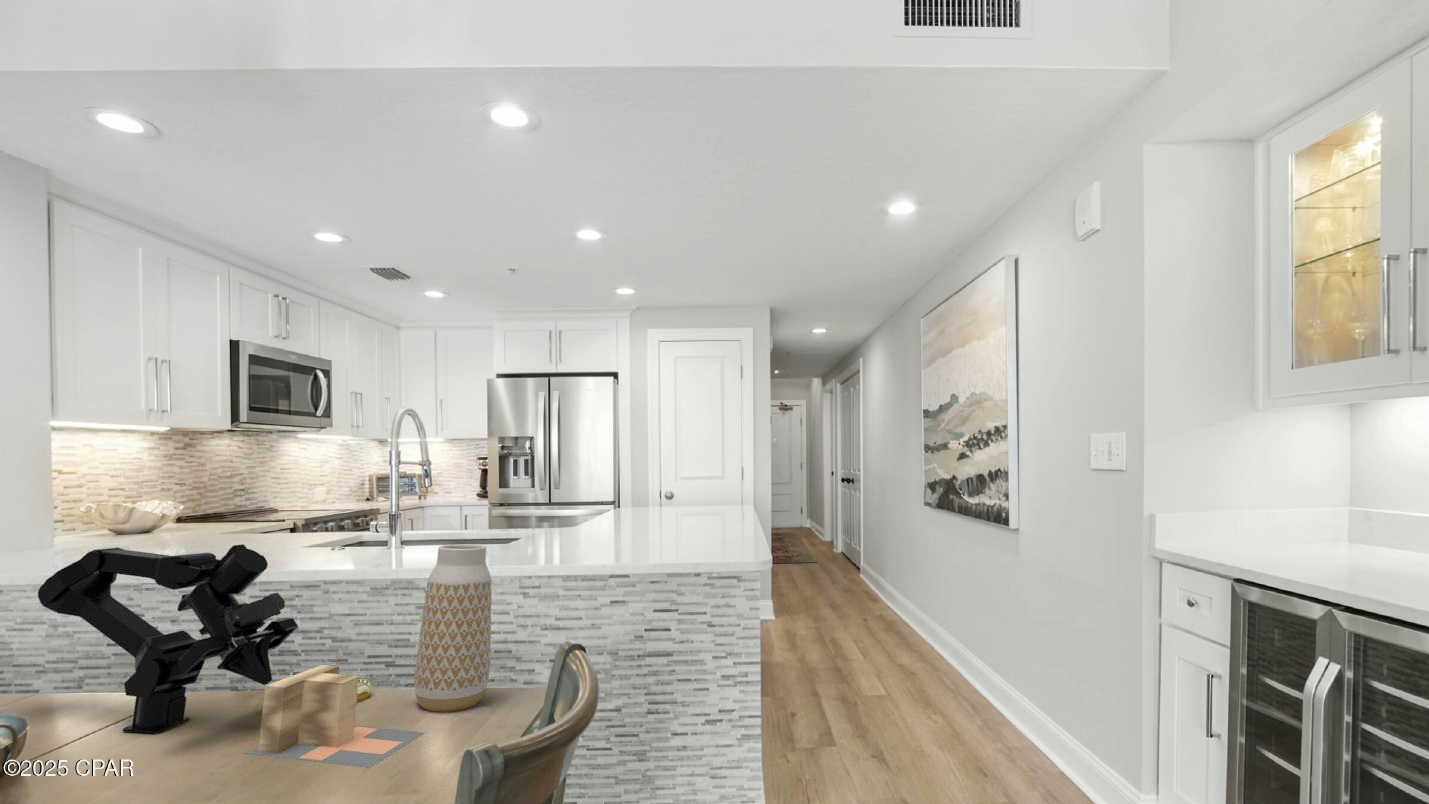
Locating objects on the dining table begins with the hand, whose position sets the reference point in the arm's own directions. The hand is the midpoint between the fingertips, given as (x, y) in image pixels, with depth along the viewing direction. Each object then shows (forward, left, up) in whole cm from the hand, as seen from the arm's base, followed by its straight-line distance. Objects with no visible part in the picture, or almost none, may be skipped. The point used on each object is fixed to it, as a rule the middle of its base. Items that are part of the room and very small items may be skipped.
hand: (268, 682), depth 109 cm
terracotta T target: (+18, -2, -9) cm, 20 cm away
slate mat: (+14, -1, -9) cm, 17 cm away
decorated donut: (+1, +19, -9) cm, 21 cm away
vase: (+23, +20, -9) cm, 32 cm away
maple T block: (+10, -1, -8) cm, 13 cm away
